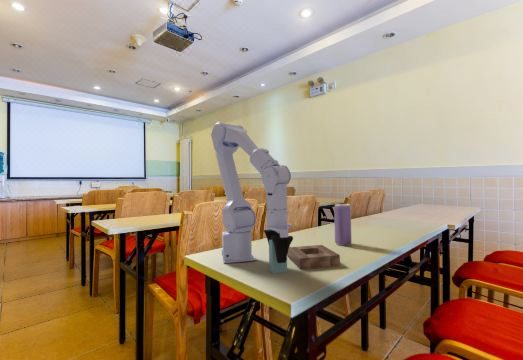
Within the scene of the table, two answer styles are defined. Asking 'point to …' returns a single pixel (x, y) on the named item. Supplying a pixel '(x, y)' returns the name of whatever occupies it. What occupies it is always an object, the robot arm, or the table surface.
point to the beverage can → (342, 224)
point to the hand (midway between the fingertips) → (277, 258)
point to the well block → (313, 256)
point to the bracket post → (275, 260)
